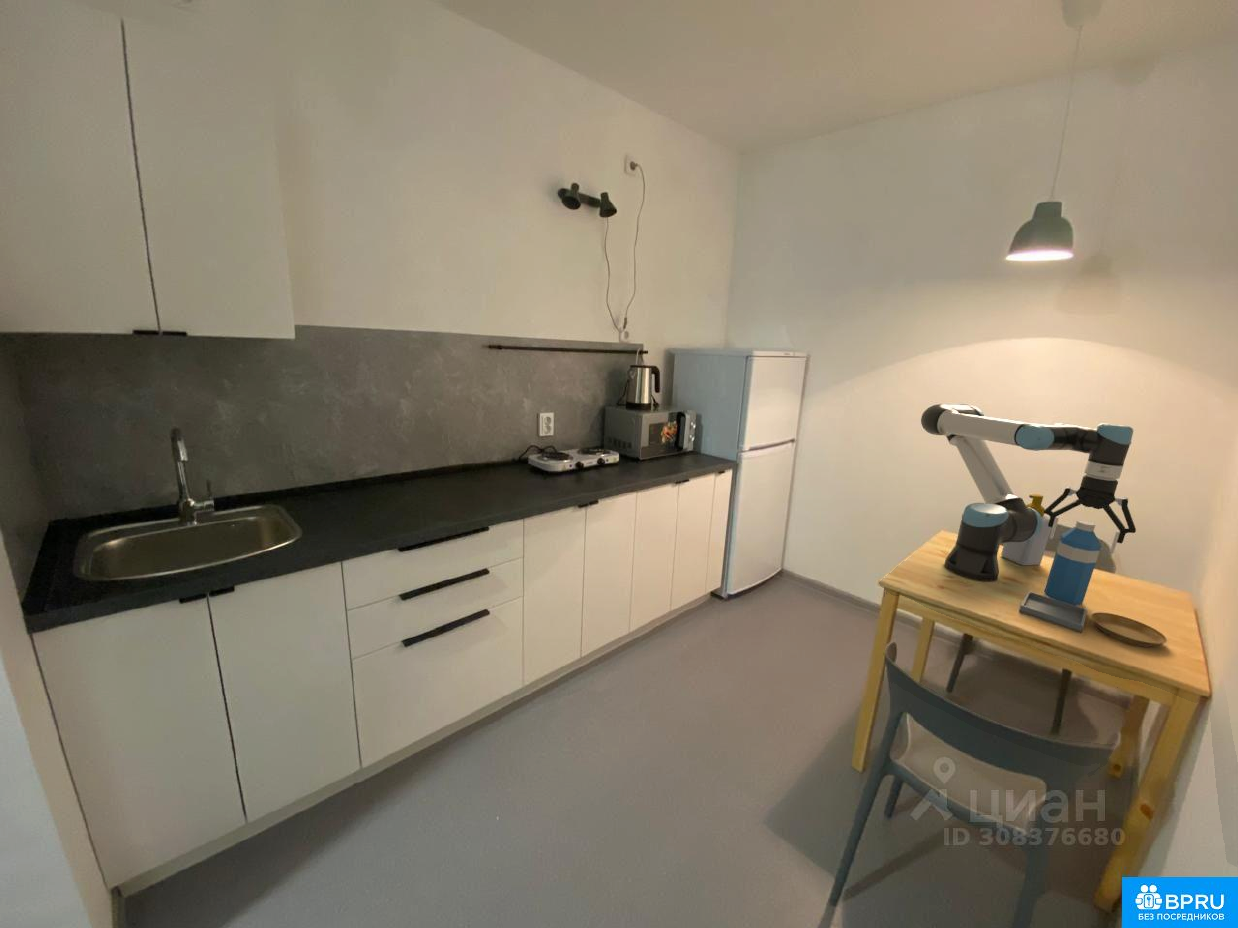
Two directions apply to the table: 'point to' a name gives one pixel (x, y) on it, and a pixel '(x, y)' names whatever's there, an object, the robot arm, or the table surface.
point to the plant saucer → (1128, 630)
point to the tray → (1054, 611)
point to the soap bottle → (1034, 548)
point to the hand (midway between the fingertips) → (1080, 544)
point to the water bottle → (1073, 564)
